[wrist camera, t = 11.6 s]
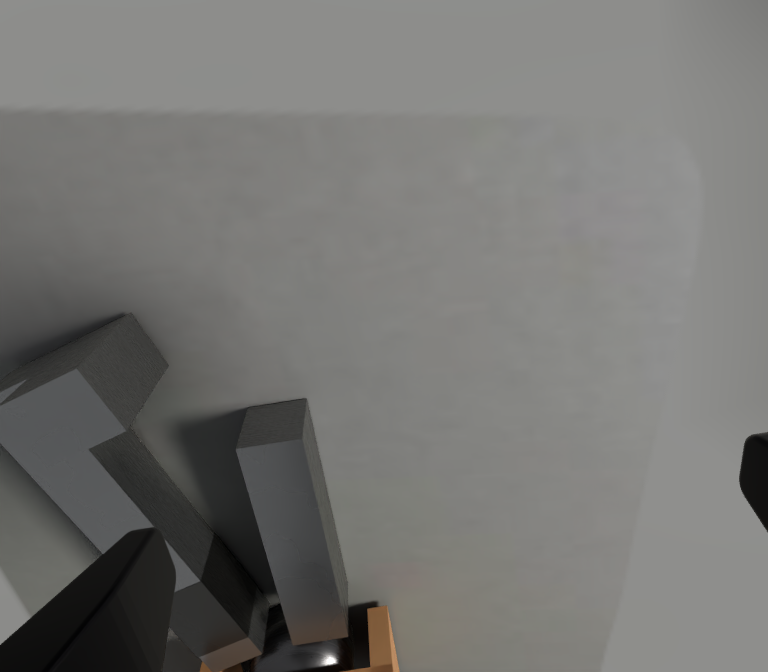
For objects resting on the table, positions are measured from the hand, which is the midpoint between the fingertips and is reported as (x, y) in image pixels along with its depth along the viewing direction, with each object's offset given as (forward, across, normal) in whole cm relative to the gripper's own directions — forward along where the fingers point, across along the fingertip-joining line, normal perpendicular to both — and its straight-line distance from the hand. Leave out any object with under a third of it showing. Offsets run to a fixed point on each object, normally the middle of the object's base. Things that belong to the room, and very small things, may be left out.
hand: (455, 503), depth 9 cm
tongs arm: (+10, +8, +6) cm, 14 cm away
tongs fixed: (+10, +6, +10) cm, 15 cm away
